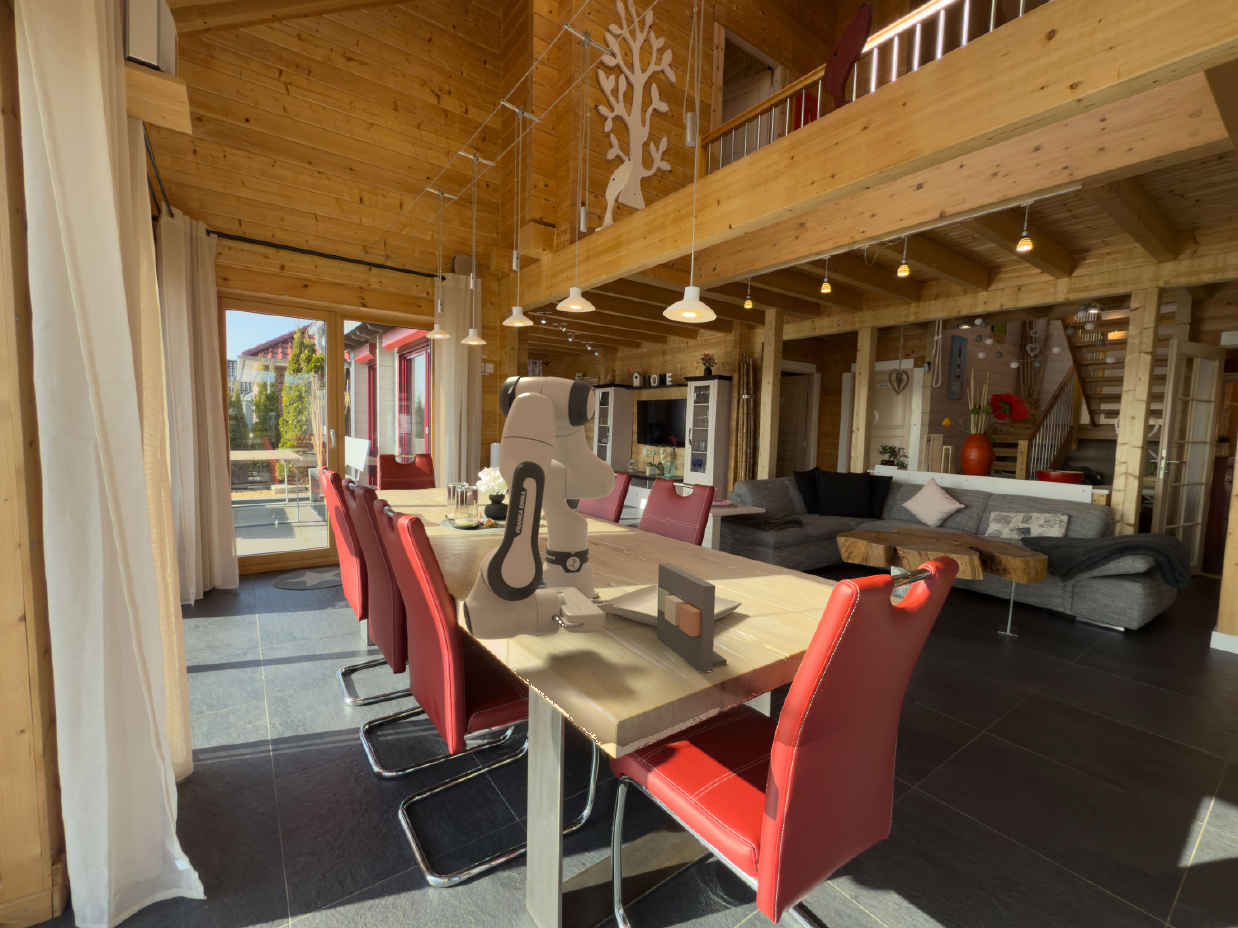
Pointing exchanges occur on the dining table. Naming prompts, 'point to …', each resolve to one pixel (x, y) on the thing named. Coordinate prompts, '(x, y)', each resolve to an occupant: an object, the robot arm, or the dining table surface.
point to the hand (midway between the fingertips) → (610, 605)
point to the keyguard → (702, 597)
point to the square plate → (645, 605)
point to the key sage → (662, 598)
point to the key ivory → (673, 608)
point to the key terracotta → (690, 620)
